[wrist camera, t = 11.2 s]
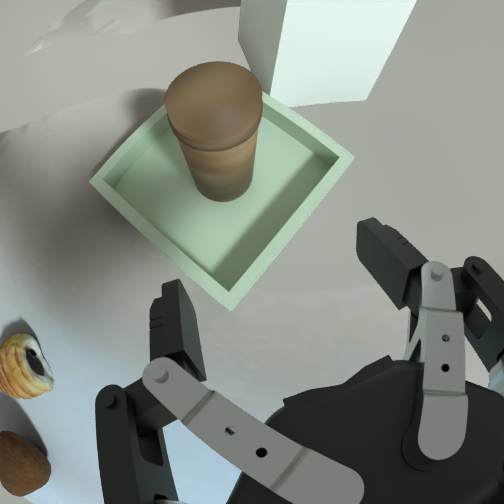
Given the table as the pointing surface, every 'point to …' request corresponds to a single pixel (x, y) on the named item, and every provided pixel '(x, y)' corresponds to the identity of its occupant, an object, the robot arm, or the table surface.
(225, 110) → the pepper mill
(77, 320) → the table surface
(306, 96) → the milk
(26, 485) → the potato
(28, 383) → the pastry
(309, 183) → the bin
